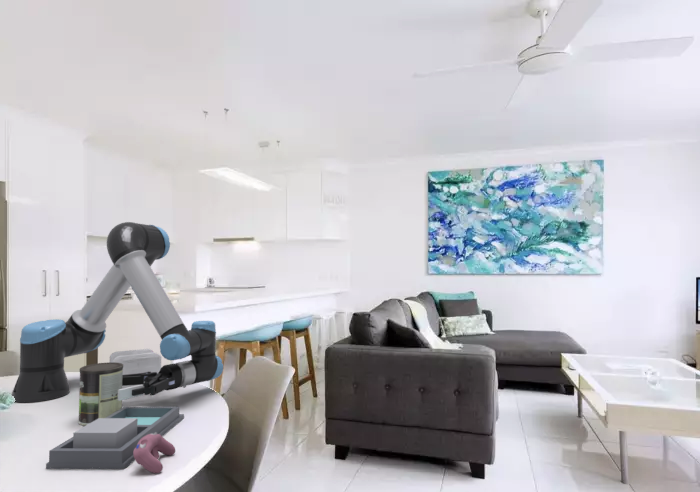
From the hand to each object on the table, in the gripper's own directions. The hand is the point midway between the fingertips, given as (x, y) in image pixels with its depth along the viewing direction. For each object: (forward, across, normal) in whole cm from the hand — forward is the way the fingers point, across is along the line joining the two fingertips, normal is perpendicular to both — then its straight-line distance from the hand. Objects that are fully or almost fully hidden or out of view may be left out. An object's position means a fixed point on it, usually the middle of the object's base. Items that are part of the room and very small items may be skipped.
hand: (105, 391), depth 119 cm
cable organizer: (-23, +26, -8) cm, 36 cm away
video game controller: (+8, -37, -8) cm, 38 cm away
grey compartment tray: (+4, -19, -7) cm, 21 cm away
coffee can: (+1, +1, -8) cm, 8 cm away
